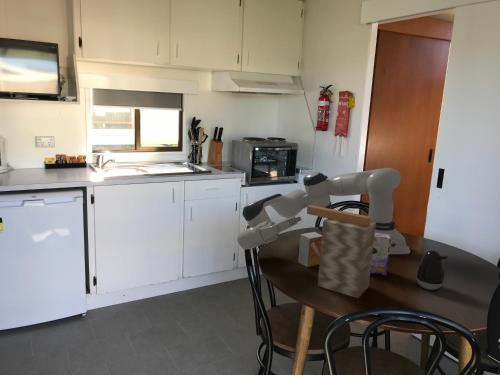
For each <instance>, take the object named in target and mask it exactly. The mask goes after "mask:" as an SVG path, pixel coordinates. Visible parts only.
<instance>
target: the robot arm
mask: <svg viewBox="0 0 500 375" xmlns="http://www.w3.org/2000/svg"><path fill="white" fill-rule="evenodd" d="M401 180H402V176H401V173H400V172H399V171H398V170H397V169H396V168H393V167H384V168H376V169H369V170H365V171H364V170H363V171H357V172H350V173H349V172H348V173H343V174H336V175H333V176H331V177H328V176H327V175H325V174H324V173H322V172H318V171H315V172H314V171H313V172H309V173H307V174H306V175H304V177H303V181H302V182H303V186H304V190H305V191H304V190H302V189H295V190H292V191H290V192H288V193H286V194H285V195H283V194H282V193H275V194H272V195H270V196H266V197H265V198H262V199H259V200H256V201H252V202H248V203H247V204H245V206H244V207H243V208H242V213H241V214H242V217H243V218H244V220H245V221H246V222H247V224H248V226H249V227H248V228H246V229H244V230H242V231H241V232H239V233H238V234H237V236H236V237H237V238H236V240H237V243H238V245H239V246H240V247H241V249H243V250H250V249H254V248H257V247H260V246H262V245H265V244H268V243H271V242H274V241H277V239H278V237H279V235H280V233H282V232H284V231H286V230H287V229H290V228H292V227H293V226H296V225H298V223H299V222H301V221H302V216H297V215H299V214H300V213H301V212H302V211H303V210H304V209H307V206H309V205H313V206H318V207H323V208H328V209H332V208H333V207H332V206H333V204H332V201H331V196H333V197H335V196H336V197H348V196H350V197H351V196H359V195H360V196H361V195H368V197H369V198H368V199H369V203H368V204H369V206H368V214H367V216H369V217H370V221H372V222H376V227H375V233H382V234H391V240H390V250H389V255H409V254H410V253H411V249H410V248H409V246H408V245H407V242H406V238H405V237H404V235H402V234H401V233H400V232H399V231H398V230H397V229H399V227H400V226H399V224H398V223H396V222H395V221H393V213H394V207H395V206H394V202H393V190H395V189H396V188H397V187H399V185H400V184H401ZM269 206H270V207H271V208H272V209H273V210H275V212H276V213H277V214H278V215H279V216H280V217H283V220H281V221H279V222H275V221H272V219H271V218H270V215H269V214H268V212H267V211H266V208H267V207H269ZM296 216H297V217H296ZM284 218H285V219H284Z"/></svg>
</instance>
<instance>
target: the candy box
mask: <svg viewBox="0 0 500 375" xmlns="http://www.w3.org/2000/svg"><path fill="white" fill-rule="evenodd" d="M390 240H391V234H382V233H375V236H374V245H373V254H372V262H371V271H370V274H374V275H375V274H376V275H381V276H387V274H388V267H389V266H388V265H389V258H390V254H389V250H390Z"/></svg>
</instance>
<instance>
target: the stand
mask: <svg viewBox="0 0 500 375" xmlns="http://www.w3.org/2000/svg"><path fill="white" fill-rule="evenodd" d="M375 227H376V222H372V221H370V225H368V226H362V225H357V224H352V223H348V222H343V221H338V220H333V219H329V218H325V219H324V220H323V221H322V230H321V232H322V233H321V235H322V242H321V253H320V264H319V267H318V278H317V286H318V287H320V288H323V289H327V290H329V291H333V292H336V293H340V294H343V295H346V296H348V297H349V296H350V297H353V298H356V299H359V298H360V297H361V296H362V295H363V293H365V292H366V290H367V289H368V288H369V286H370V281H371V280H370V278H371V273H370V271H371V262H372V254H373V245H374V236H375Z"/></svg>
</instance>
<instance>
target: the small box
mask: <svg viewBox="0 0 500 375" xmlns="http://www.w3.org/2000/svg"><path fill="white" fill-rule="evenodd" d="M321 242H322V234H320V233H318V232H316V231H312V232H305V233H301V234H300V235H299V249H298V259H297V263H298V264H301V265H302V266H304V267H306V268H309V267H314V266H317V265H320V253H321Z"/></svg>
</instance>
